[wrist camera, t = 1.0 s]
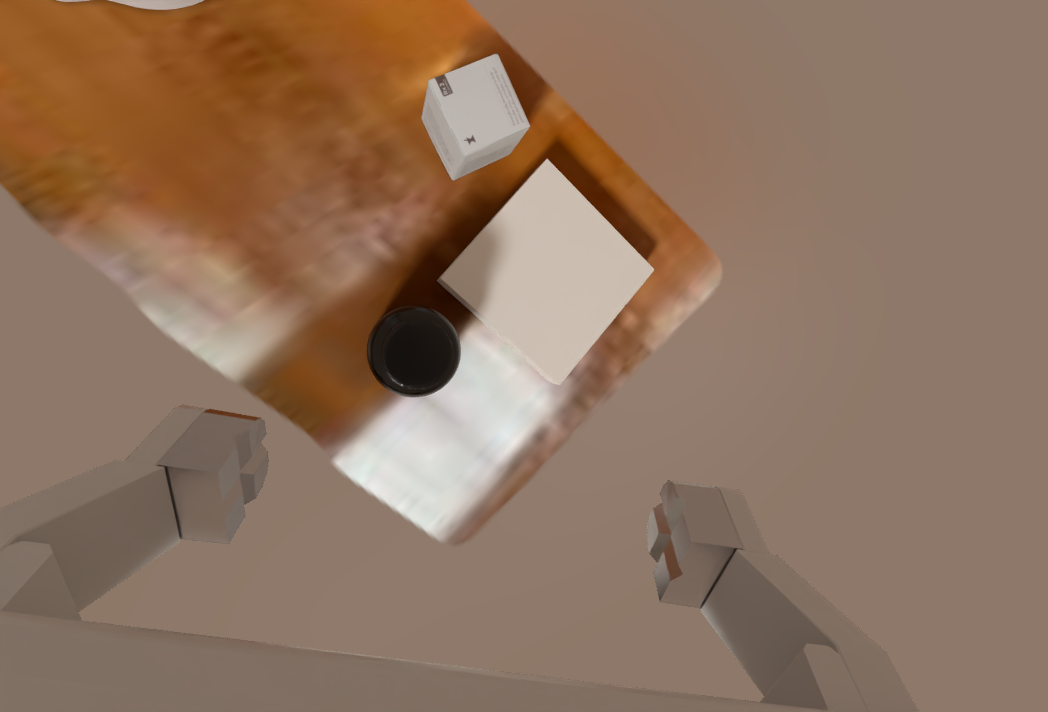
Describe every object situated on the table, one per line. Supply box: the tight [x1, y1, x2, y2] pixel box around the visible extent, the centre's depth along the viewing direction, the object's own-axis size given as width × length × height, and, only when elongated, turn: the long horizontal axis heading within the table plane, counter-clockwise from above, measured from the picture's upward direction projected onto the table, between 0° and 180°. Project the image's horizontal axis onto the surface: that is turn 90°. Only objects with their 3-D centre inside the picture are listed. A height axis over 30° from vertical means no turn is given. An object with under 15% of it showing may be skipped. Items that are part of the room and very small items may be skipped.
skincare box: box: [421, 54, 530, 180], centre depth 44 cm, size 6×6×7 cm
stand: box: [437, 159, 654, 385], centre depth 49 cm, size 14×14×3 cm
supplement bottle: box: [367, 305, 461, 397], centre depth 42 cm, size 7×7×12 cm
